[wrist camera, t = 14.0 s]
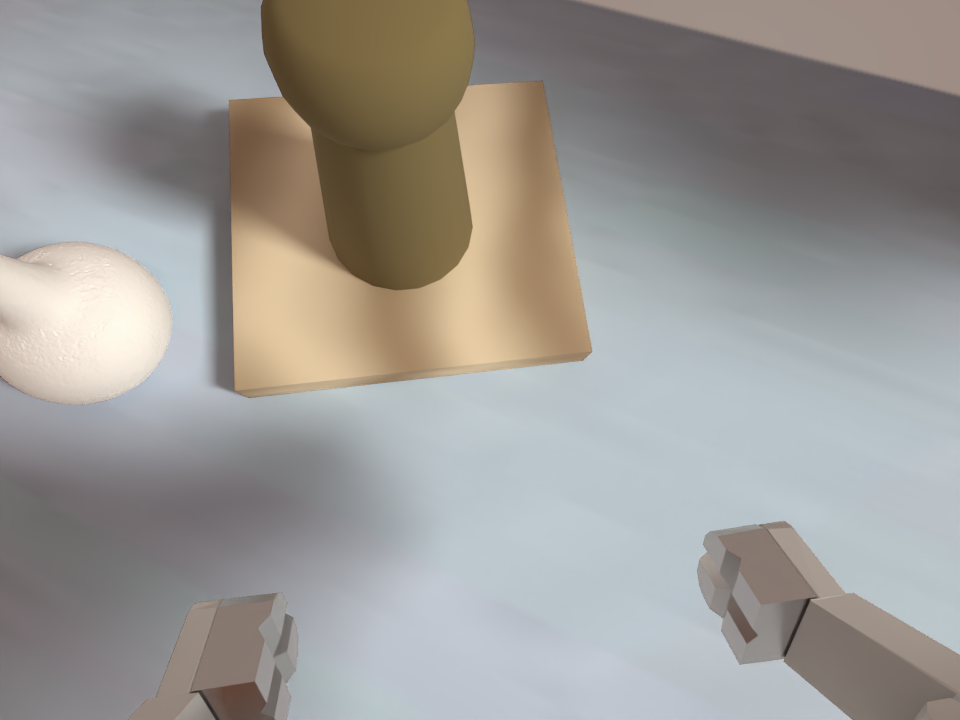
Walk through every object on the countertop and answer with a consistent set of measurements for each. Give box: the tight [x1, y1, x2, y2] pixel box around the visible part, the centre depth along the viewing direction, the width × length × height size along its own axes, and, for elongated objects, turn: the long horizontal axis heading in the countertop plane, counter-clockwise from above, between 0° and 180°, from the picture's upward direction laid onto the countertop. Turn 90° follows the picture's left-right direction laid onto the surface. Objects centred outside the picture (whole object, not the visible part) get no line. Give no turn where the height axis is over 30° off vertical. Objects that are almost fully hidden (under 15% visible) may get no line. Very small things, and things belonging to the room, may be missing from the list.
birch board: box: [229, 81, 592, 398], centre depth 23 cm, size 14×13×2 cm
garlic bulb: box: [0, 242, 173, 405], centre depth 19 cm, size 6×6×8 cm
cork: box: [261, 0, 475, 291], centre depth 17 cm, size 6×6×11 cm
